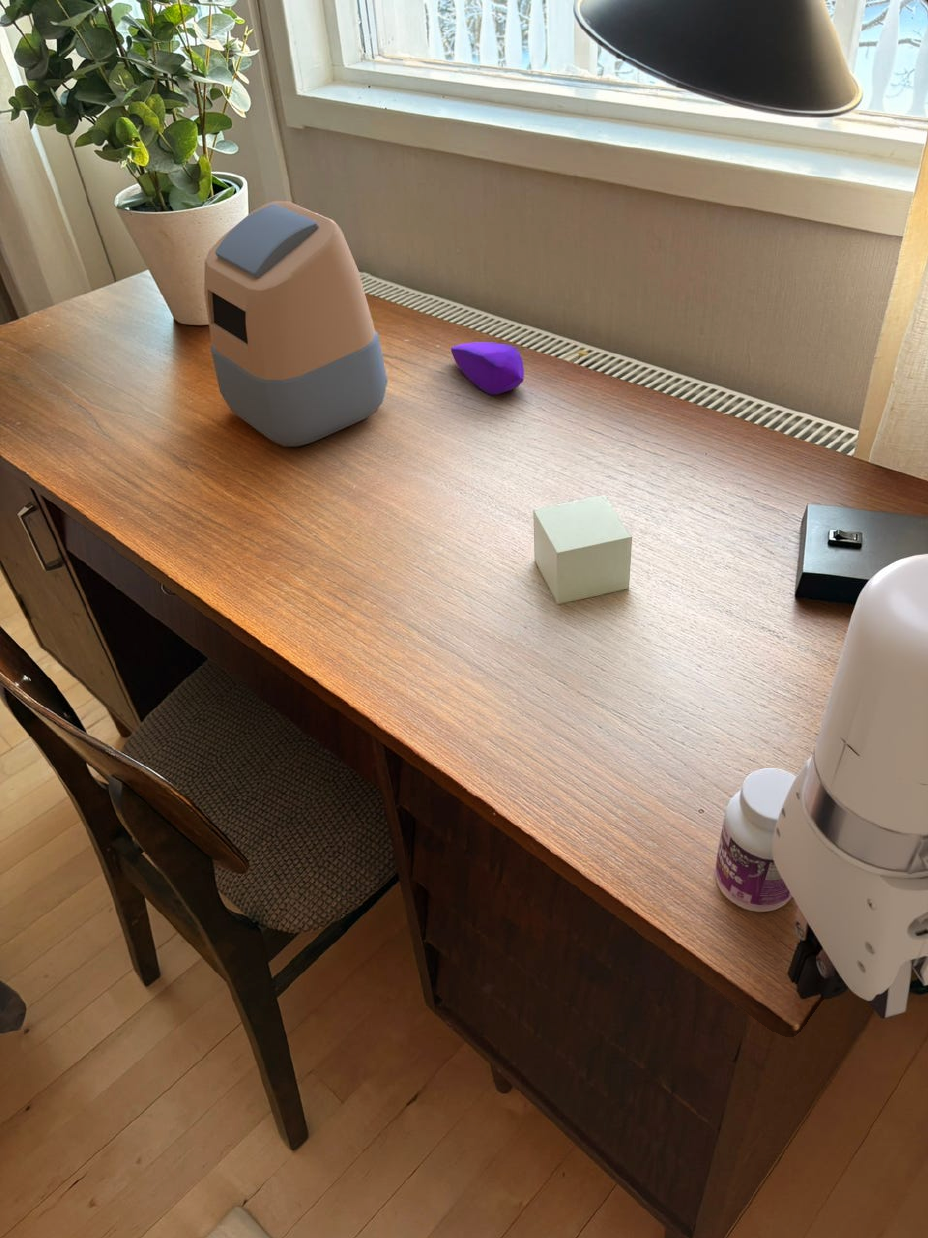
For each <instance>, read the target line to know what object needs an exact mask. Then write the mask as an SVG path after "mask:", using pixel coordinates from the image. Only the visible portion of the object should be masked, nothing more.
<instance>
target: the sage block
mask: <svg viewBox="0 0 928 1238" xmlns="http://www.w3.org/2000/svg"><path fill="white" fill-rule="evenodd" d="M532 519H533V520H532V521H533V556H534V557H533V558H534V562H535V564H536V566H537V567H538V569H539V572H540V574H541V576H542V577H543V579H544V581H545V583H546V585H547V587H548V589H549V591H550V593H551V595H552V597H553V599H554V602H555V603H556V605H562V604H566V603H571V602H575V601H579V600H584V599H588V598H592V597H597V596H598V597H599V596H601V595H606V594H610V593H615V592H620V591H624V590H628V589H630V581H631V580H630V579H631V565H632V564H631V563H632V548H633V536H632V534H631V532H630V531H629V530H628V528H627V526H626V525H625V523H624V522H623V520H622V519H621V517H620V516H619V514H618V513H617V511H616V510H615V508H614V507H613V506H612V504H611V503H610V501H609V500H608V498H607V496H606V495H605V494H600V495H594V496H590V497H585V498H581V499H576V500H571V501H567V502H562V503H558V504H552V505H548V506H542V507H538V508H533V509H532Z"/></svg>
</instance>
